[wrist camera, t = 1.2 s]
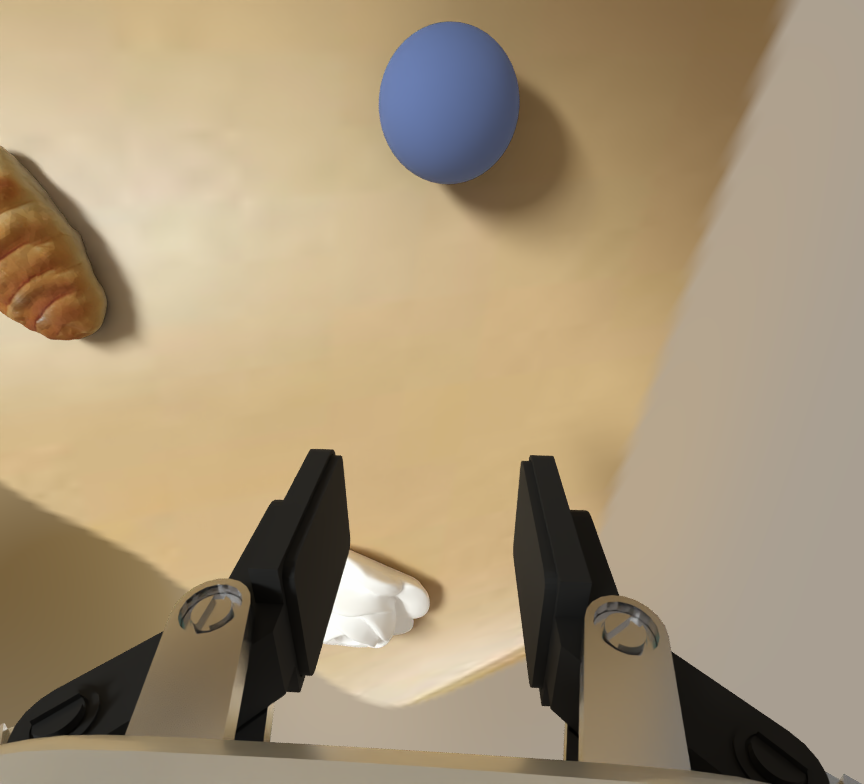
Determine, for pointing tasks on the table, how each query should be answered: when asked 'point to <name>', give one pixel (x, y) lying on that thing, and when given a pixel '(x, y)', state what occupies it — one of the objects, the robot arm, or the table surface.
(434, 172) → the ball
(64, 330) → the pastry
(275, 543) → the robot arm
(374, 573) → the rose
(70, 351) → the table surface
